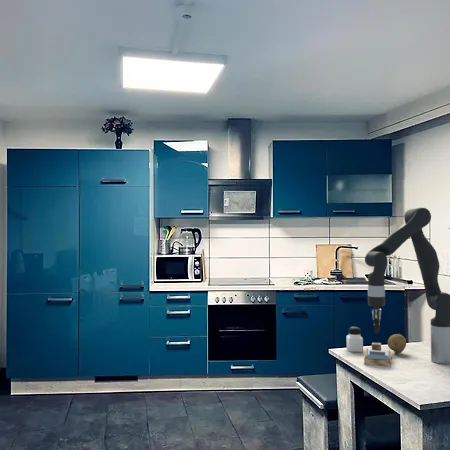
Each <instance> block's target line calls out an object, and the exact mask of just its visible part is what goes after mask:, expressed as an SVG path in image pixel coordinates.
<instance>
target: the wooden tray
mask: <svg viewBox="0 0 450 450" xmlns="http://www.w3.org/2000/svg"><path fill="white" fill-rule="evenodd" d="M368 350H369V348H368V347H366V349H365V353H364V356H363V357H364V358H363V365H364V364H367V366H379V367H380V366H381V367H389V368H390V367H392V352H391V349H388V350H387V351H388V360H381V359H367V354H368ZM375 351H376V350H375Z"/></svg>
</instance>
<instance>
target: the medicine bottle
mask: <svg viewBox="0 0 450 450" xmlns="http://www.w3.org/2000/svg"><path fill="white" fill-rule="evenodd" d="M345 338H346V349H347V351H349V352H351V353H357V352H358V353H359V352H360V353H361V352H362V353H363V352H364V338H363V336H361V328H360V327H357V326H351V327H349V328H348V334H347V335H346V337H345Z"/></svg>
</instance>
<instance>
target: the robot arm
mask: <svg viewBox="0 0 450 450" xmlns="http://www.w3.org/2000/svg"><path fill="white" fill-rule="evenodd" d="M403 219H404V225H403V226H401V227H400V228H398V229H397V230H395V231H393V232H391V234H389V235H388V236H386V238H384V240H383V241H382V242H381V243H380V244H378V245H376V246H375V247H373V248H372V249H370V250H368V252H367V253H366V255H365V257H364V263H365V264H366V265H367V266H368V267H373V269H372V271H371V272H369V273H368V276H367V277H368V280H367V283H368V285H367V305H368V306H370V307H373V309H371V314H372V320H373V332H374V334H380V324H381V316H382V315H381V314H382V309H381V308H380V307H385V305H386V289H385V275H386V271H387V266H388V263H389V261H388V256H391V255H393V254H394V253H395V252H397V250H398V249H399V248H400V247H401V246H402V245H403V244H404V243H405V242H406V241H408V240H409V239H411V243H412V246H413V249H414V252H415V256H416V260H417V263H418V264H417V265H418V267H419V270H420V275H421V278H422V282H423V286H424V291H425V292H424V293H425V298H426V303H427V305H428V307H429V308H430V309H431V310H434V311H435V312H434V313H435V316H434V317H431V319H430V361H431V362H433V363H436V364H442V365H447V364H450V294H449V293H448V292H444V291H443V292H442V291H441V288H440V283H439V279H438V277H439V273H440V261H439V258H438V254H437V250H436V249H435V247H434V246H433V245H432V244H431V243H430V241H429V240H428V239H427V237H426V235H425V234H424V231H423V229H424V228H425V227H426V226H428V224H430V222H431V221H432V215H431V211H430V210H429V209H428V208H426V207H415V208H414V207H413V208H409V209H407V210H406V211H405V212H404V216H403Z"/></svg>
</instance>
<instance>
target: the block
mask: <svg viewBox="0 0 450 450" xmlns="http://www.w3.org/2000/svg"><path fill="white" fill-rule="evenodd" d="M371 350H376V351H382V343H381V342H372V343H371Z"/></svg>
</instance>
